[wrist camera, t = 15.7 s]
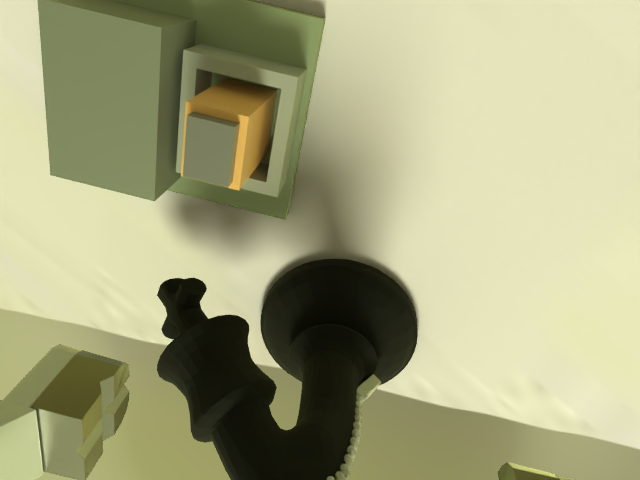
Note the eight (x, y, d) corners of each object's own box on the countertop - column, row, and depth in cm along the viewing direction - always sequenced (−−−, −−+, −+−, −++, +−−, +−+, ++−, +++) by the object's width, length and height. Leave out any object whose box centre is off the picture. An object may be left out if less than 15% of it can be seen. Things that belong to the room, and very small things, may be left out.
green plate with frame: (325, 18, 35) (309, 27, 29) (288, 213, 43) (268, 253, 37) (85, -39, 36) (19, -43, 30) (91, 164, 44) (39, 195, 37)
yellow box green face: (277, 90, 37) (244, 121, 29) (267, 152, 39) (234, 196, 32) (226, 78, 37) (179, 105, 29) (219, 140, 40) (174, 181, 32)
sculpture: (367, 405, 53) (344, 709, 31) (164, 307, 50) (-16, 561, 28) (448, 305, 45) (494, 611, 23) (215, 186, 43) (25, 402, 21)
